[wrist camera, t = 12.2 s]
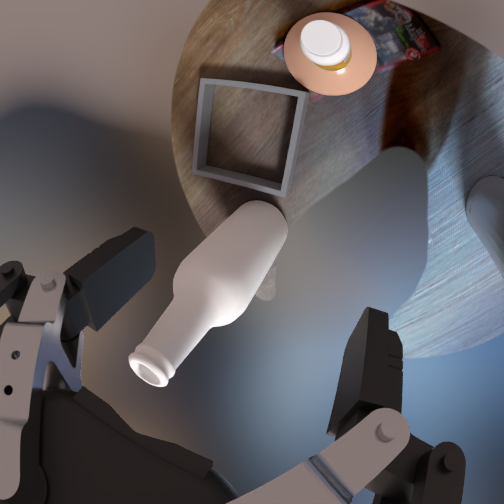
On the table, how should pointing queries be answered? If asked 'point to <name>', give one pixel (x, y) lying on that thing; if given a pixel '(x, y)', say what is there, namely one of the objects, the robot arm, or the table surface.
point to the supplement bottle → (326, 45)
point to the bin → (234, 177)
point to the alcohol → (212, 287)
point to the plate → (332, 81)
